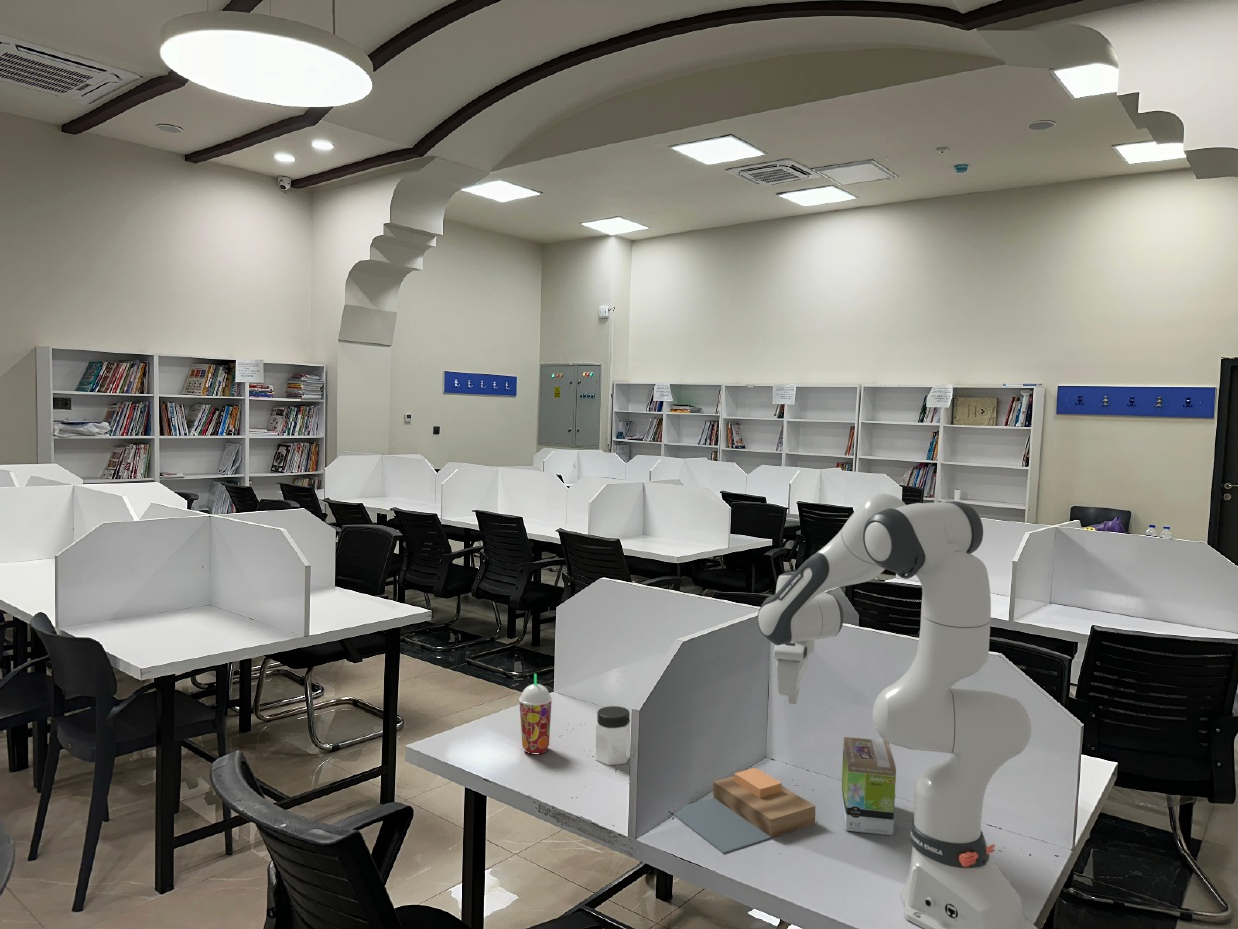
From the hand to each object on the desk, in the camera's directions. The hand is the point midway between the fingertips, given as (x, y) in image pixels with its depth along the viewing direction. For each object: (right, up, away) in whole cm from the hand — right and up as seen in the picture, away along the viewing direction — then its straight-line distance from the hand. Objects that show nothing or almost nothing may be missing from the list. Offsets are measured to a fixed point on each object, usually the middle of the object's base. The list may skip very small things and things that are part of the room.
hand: (793, 702), depth 190 cm
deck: (-8, -22, -7) cm, 24 cm away
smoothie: (-61, -20, +25) cm, 69 cm away
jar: (-41, -20, +21) cm, 50 cm away
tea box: (+14, -23, -9) cm, 28 cm away
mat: (-18, -22, -13) cm, 32 cm away
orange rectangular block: (-9, -18, -4) cm, 20 cm away
